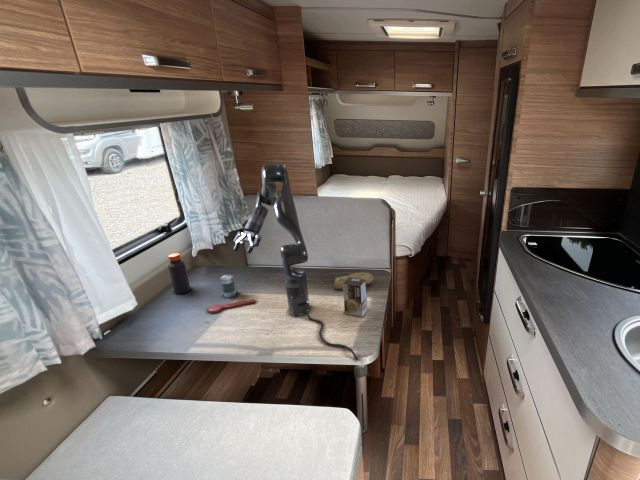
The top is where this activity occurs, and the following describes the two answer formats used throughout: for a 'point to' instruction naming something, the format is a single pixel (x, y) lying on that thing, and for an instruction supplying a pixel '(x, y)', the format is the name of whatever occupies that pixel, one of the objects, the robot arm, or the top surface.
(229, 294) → the can
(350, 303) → the coffee box
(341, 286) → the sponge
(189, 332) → the top surface
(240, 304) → the spoon
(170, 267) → the bottle
